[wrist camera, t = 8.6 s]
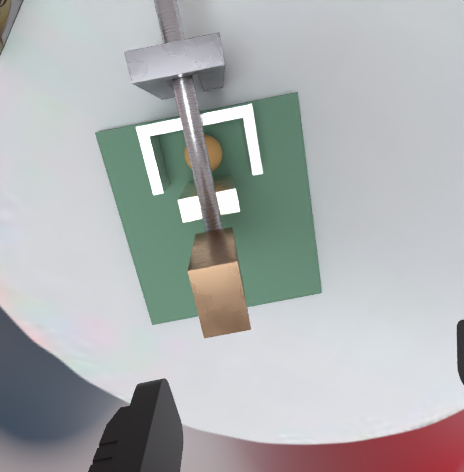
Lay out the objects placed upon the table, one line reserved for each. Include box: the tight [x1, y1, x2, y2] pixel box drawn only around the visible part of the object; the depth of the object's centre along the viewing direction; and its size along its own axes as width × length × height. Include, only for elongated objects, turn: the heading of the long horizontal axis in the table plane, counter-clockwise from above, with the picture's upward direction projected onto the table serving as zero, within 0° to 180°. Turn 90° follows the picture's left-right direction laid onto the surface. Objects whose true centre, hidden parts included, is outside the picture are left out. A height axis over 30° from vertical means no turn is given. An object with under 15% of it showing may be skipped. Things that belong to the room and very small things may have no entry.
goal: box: [136, 104, 263, 195], centre depth 35 cm, size 11×6×5 cm, turn 101°
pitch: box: [95, 92, 322, 325], centre depth 40 cm, size 22×24×1 cm
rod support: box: [124, 33, 225, 100], centre depth 30 cm, size 7×2×14 cm, turn 101°
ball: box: [184, 134, 223, 171], centre depth 36 cm, size 4×4×4 cm
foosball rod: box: [154, 0, 251, 338], centre depth 27 cm, size 5×31×18 cm, turn 11°
